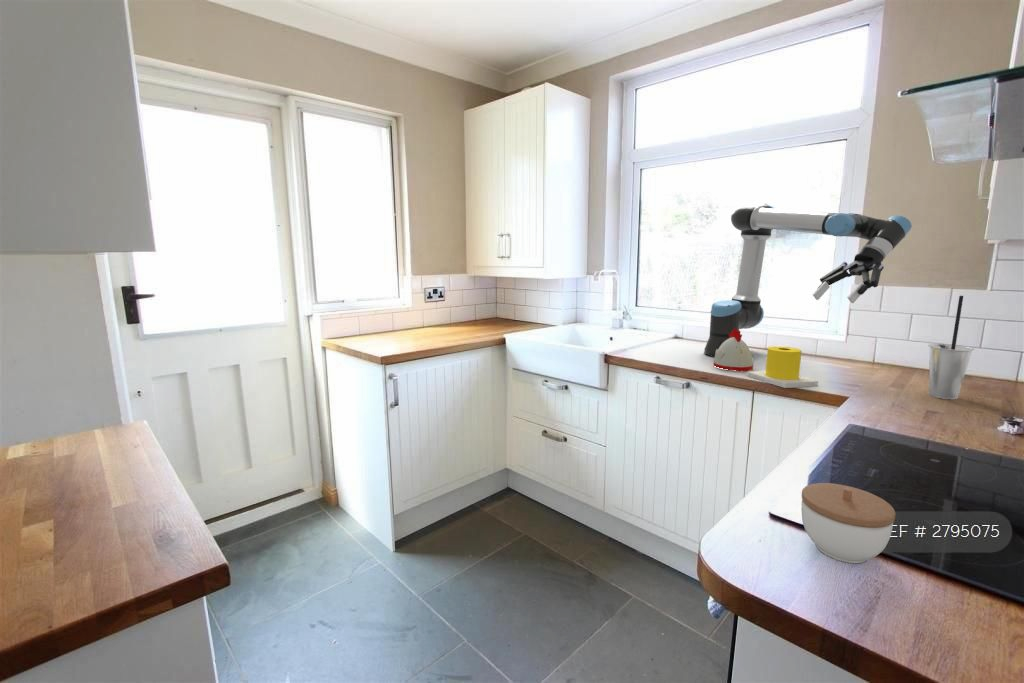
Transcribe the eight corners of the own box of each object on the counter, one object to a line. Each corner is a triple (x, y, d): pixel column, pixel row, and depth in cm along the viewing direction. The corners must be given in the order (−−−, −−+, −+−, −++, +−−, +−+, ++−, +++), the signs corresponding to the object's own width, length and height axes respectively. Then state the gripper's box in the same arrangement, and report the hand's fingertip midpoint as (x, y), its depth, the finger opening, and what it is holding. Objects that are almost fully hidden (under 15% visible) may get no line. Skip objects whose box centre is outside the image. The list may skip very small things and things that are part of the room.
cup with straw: (947, 391, 147) (961, 295, 141) (978, 402, 135) (996, 298, 130) (909, 390, 148) (923, 295, 143) (938, 401, 137) (953, 298, 131)
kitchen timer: (723, 371, 175) (726, 332, 173) (707, 363, 189) (709, 326, 186) (760, 371, 176) (763, 331, 173) (741, 363, 189) (744, 326, 187)
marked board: (747, 375, 168) (747, 371, 168) (778, 373, 171) (778, 369, 171) (784, 388, 152) (784, 383, 152) (817, 385, 155) (818, 380, 154)
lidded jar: (788, 524, 74) (794, 468, 72) (868, 535, 71) (876, 477, 69) (809, 566, 64) (816, 502, 62) (904, 581, 61) (914, 514, 59)
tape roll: (803, 380, 155) (805, 352, 154) (769, 378, 158) (772, 351, 156) (793, 373, 165) (795, 347, 163) (762, 372, 167) (764, 346, 166)
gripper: (915, 261, 150) (872, 309, 150) (845, 261, 174) (807, 303, 174) (904, 244, 148) (860, 293, 148) (835, 247, 172) (796, 289, 172)
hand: (831, 298), depth 161 cm, fingers open, 13 cm apart
